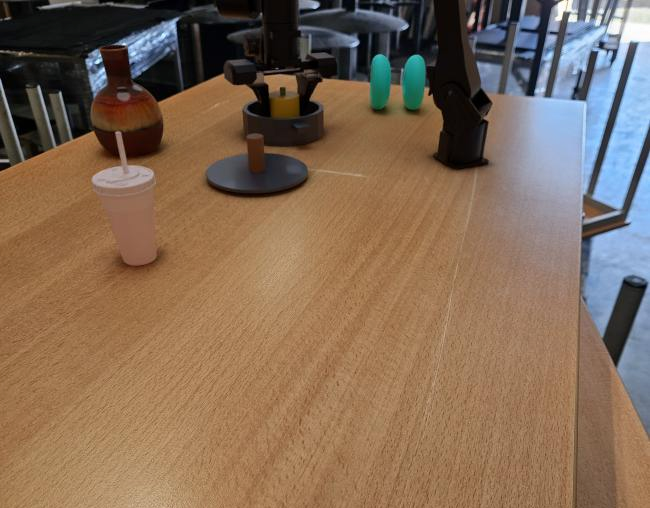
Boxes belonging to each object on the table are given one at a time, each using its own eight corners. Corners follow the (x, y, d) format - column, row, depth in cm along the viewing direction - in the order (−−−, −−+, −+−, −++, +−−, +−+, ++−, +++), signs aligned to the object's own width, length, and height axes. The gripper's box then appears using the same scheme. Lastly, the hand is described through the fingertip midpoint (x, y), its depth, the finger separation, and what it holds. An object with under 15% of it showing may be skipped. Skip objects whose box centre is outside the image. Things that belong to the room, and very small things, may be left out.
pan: (300, 114, 112) (299, 90, 109) (342, 144, 97) (343, 117, 95) (230, 122, 107) (228, 97, 104) (264, 155, 93) (263, 127, 90)
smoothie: (180, 251, 66) (160, 129, 58) (144, 276, 62) (117, 148, 54) (136, 240, 69) (111, 121, 60) (98, 264, 64) (65, 138, 56)
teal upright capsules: (422, 116, 111) (428, 60, 105) (371, 115, 111) (374, 60, 105) (416, 102, 119) (421, 50, 113) (368, 101, 119) (371, 49, 113)
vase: (181, 145, 96) (166, 45, 87) (130, 165, 89) (109, 57, 80) (135, 134, 101) (117, 38, 92) (83, 152, 94) (58, 49, 85)
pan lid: (286, 154, 93) (285, 116, 90) (323, 187, 82) (324, 145, 78) (195, 167, 88) (190, 127, 85) (222, 204, 77) (217, 160, 74)
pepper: (293, 123, 105) (292, 82, 100) (304, 132, 101) (304, 89, 96) (264, 127, 103) (261, 85, 99) (274, 136, 99) (272, 92, 94)
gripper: (314, 11, 101) (314, 103, 110) (210, 17, 95) (220, 114, 104) (341, 20, 92) (339, 119, 102) (229, 28, 86) (238, 132, 95)
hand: (284, 120), depth 101 cm, fingers closed on pepper, 5 cm apart
